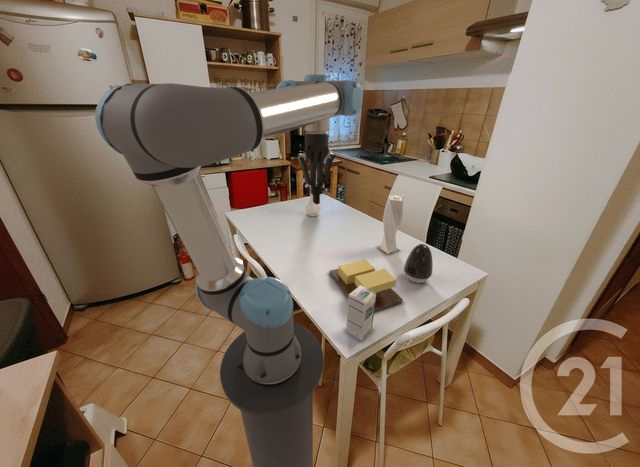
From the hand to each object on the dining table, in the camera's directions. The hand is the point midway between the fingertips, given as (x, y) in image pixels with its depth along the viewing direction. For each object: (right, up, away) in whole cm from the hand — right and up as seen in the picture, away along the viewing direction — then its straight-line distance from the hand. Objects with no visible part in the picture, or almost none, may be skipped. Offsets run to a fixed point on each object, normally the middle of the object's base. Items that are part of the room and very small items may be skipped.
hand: (316, 202), depth 93 cm
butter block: (+15, -27, +8) cm, 32 cm away
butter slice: (+20, -29, -3) cm, 35 cm away
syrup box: (+13, -41, -13) cm, 45 cm away
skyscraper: (+33, -19, +29) cm, 48 cm away
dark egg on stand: (+39, -29, +10) cm, 50 cm away
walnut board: (+17, -31, +5) cm, 36 cm away
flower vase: (-2, 0, +64) cm, 64 cm away
